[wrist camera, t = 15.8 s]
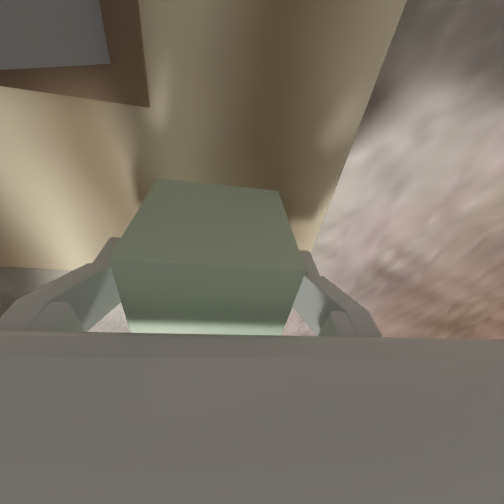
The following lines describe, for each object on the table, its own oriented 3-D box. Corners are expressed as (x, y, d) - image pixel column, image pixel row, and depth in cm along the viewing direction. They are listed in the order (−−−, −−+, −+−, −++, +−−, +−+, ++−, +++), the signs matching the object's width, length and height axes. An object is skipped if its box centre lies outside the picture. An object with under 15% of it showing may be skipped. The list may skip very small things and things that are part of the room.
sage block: (278, 190, 10) (306, 270, 6) (259, 273, 13) (270, 361, 10) (157, 177, 10) (108, 259, 6) (167, 268, 13) (139, 360, 9)
